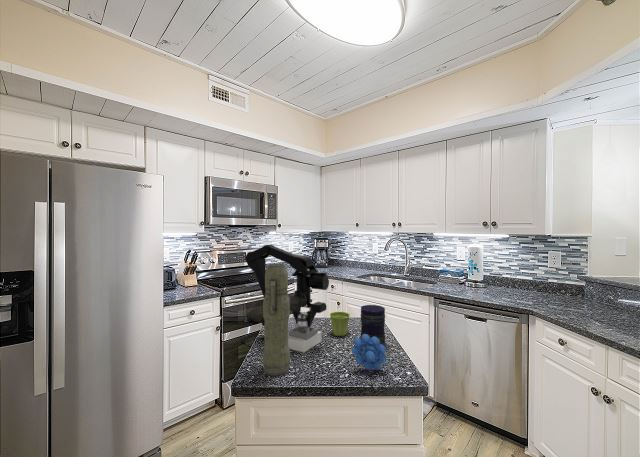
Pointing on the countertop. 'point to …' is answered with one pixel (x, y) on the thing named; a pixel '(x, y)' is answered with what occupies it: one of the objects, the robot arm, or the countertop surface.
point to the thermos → (276, 321)
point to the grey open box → (303, 339)
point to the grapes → (369, 352)
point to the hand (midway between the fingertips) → (303, 325)
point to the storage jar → (373, 322)
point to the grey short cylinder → (302, 322)
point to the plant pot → (339, 322)
